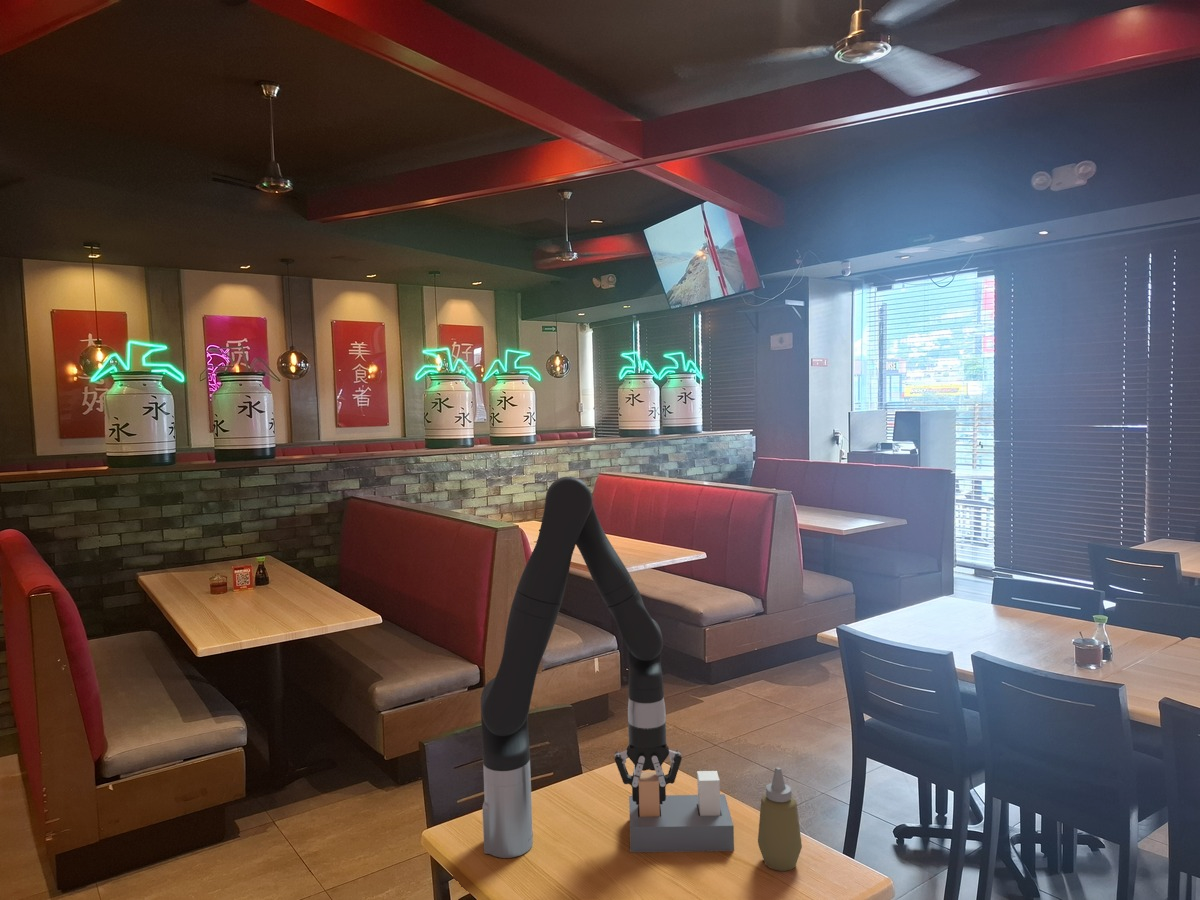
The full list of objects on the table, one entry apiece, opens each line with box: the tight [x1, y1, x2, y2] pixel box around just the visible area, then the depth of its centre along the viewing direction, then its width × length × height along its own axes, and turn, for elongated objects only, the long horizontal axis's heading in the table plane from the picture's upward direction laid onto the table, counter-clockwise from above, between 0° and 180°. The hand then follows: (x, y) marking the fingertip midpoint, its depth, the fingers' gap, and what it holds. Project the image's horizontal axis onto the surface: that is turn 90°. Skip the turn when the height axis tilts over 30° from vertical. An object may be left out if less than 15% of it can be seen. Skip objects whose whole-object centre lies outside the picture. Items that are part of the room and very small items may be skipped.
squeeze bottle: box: [757, 767, 803, 872], centre depth 142 cm, size 8×8×18 cm
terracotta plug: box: [639, 771, 660, 817], centre depth 153 cm, size 4×4×12 cm
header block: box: [628, 793, 735, 853], centre depth 153 cm, size 20×12×5 cm, turn 89°
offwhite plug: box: [696, 770, 721, 816], centre depth 152 cm, size 4×4×12 cm
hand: (649, 802), depth 153 cm, fingers closed on terracotta plug, 4 cm apart
